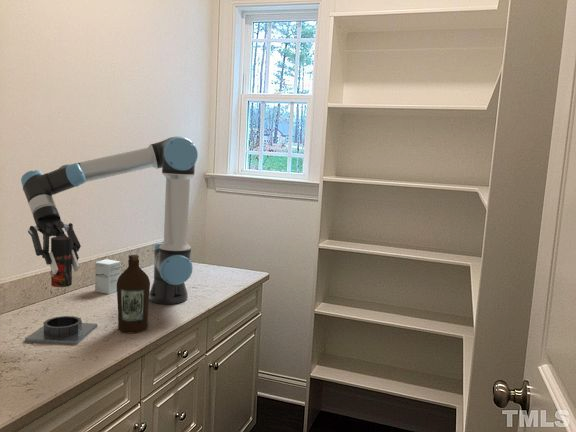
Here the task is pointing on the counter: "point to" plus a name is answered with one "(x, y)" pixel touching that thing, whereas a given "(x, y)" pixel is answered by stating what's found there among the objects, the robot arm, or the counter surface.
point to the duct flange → (62, 331)
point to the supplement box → (106, 276)
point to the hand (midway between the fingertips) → (66, 270)
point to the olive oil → (133, 298)
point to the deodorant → (62, 261)
